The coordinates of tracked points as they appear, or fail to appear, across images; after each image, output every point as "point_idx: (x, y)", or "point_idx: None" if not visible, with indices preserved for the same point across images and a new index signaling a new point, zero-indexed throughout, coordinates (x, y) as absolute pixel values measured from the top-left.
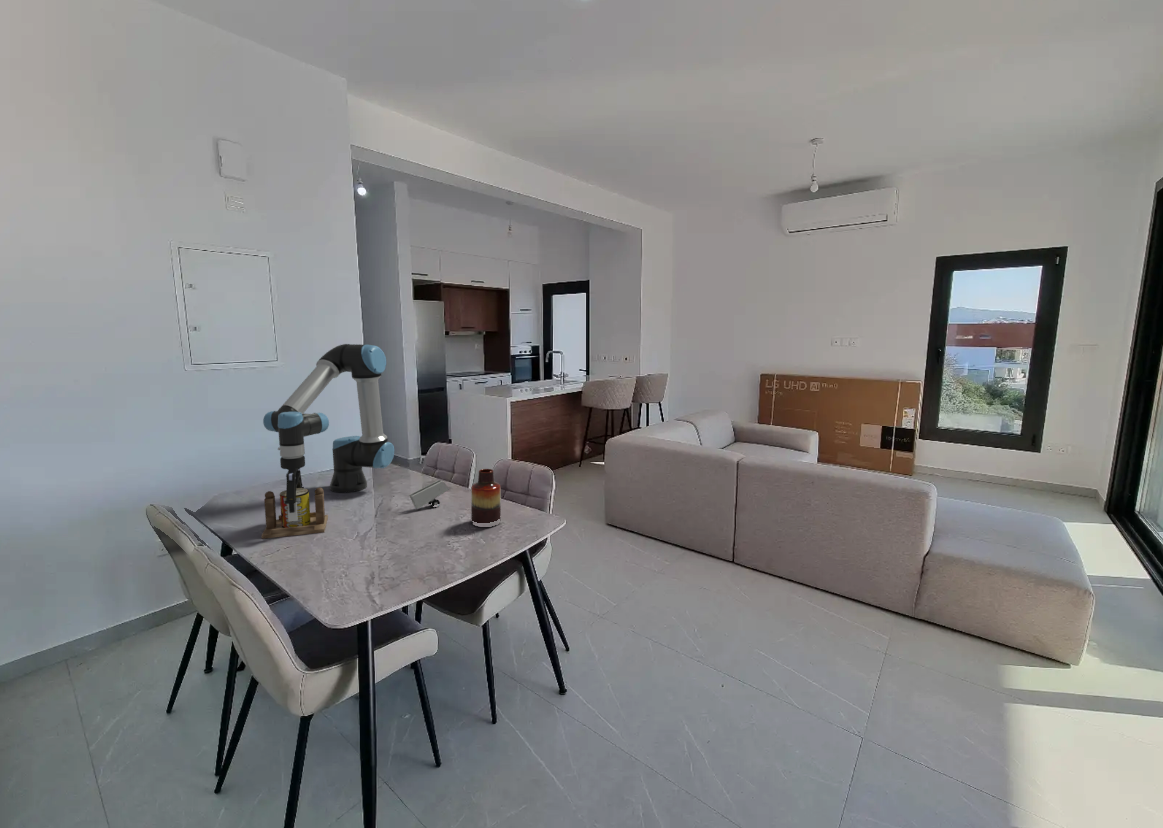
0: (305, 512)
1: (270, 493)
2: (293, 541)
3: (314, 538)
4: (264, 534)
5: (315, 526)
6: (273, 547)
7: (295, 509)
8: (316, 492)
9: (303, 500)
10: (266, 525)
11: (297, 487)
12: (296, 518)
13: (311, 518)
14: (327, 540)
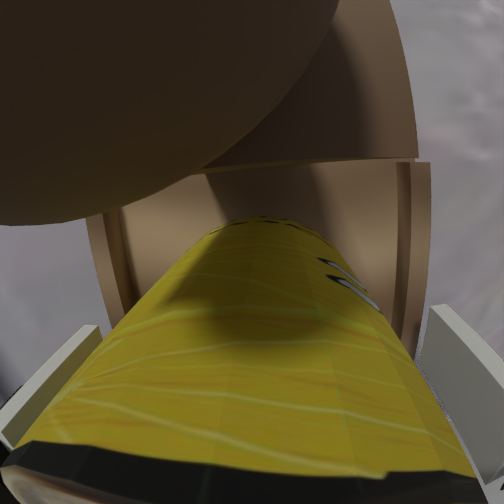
0: (346, 275)
1: None
2: (478, 264)
3: (473, 158)
4: None
5: (342, 163)
6: (497, 330)
7: (501, 372)
8: (311, 40)
9: (424, 392)
10: None
11: (4, 494)
12: (453, 318)
13: (148, 230)
14: (500, 94)
